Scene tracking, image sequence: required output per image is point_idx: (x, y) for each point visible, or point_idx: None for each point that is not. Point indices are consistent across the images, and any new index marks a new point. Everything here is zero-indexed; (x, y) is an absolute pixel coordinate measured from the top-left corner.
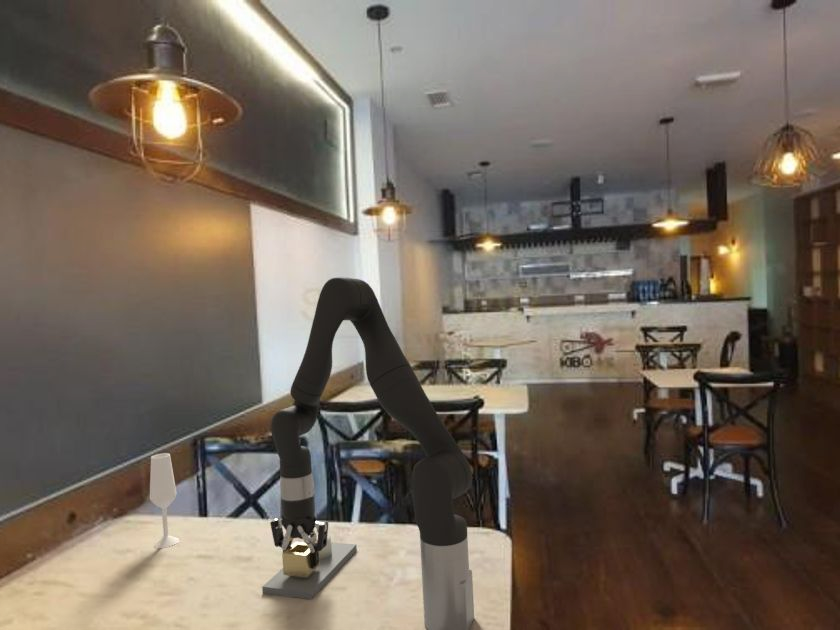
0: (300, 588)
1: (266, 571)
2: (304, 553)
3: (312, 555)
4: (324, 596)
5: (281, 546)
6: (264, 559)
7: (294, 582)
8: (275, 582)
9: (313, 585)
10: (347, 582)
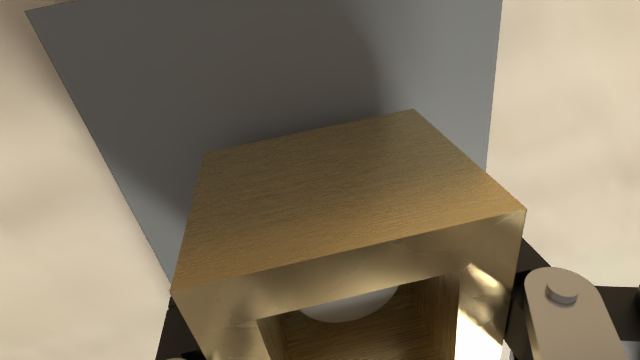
0: (171, 33)
1: (571, 163)
2: (241, 317)
3: (184, 333)
4: (9, 87)
5: (599, 297)
6: (623, 238)
7: (291, 91)
8: (435, 30)
9: (118, 118)
10: (50, 267)
